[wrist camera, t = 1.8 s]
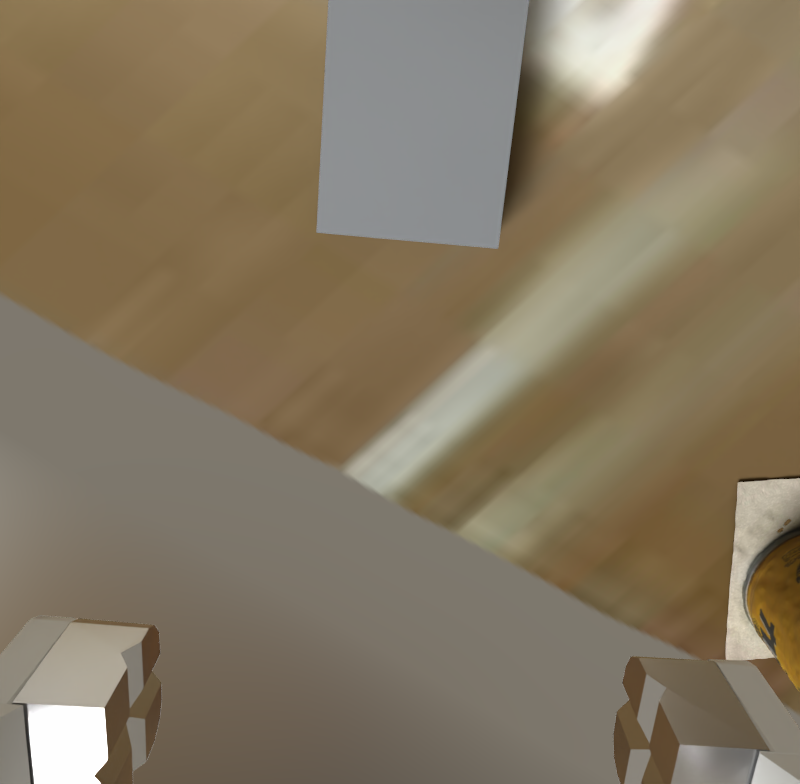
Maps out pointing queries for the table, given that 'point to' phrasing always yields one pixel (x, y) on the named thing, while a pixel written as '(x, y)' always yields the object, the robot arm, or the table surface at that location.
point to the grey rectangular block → (419, 118)
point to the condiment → (766, 576)
